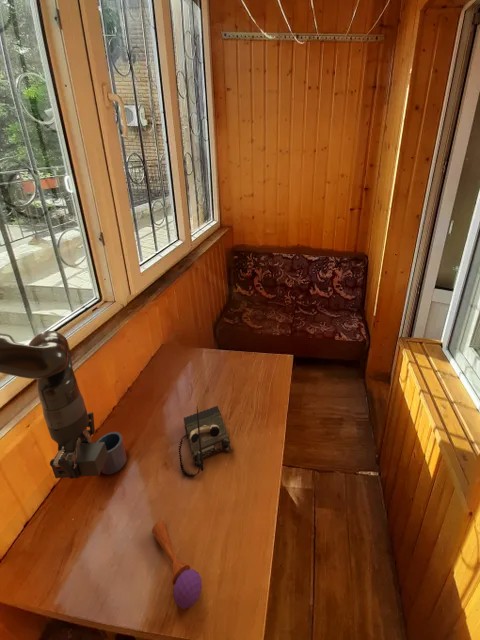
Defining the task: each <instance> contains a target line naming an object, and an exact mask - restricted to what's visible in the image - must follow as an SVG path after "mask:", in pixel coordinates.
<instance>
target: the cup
mask: <svg viewBox="0 0 480 640" xmlns="http://www.w3.org/2000/svg"><path fill="white" fill-rule="evenodd" d="M97 442H105V445H106V449H107V453H108V458H107V460H106V462H105V464H104V466H103V468H102V470H101V472H100V473H102V474H103V475H113V474H115V473H117V472H118V471H120V470H122V468H123V467H124V466H125V465H126V463H127V458H128V457H127V451H126V448H125V444H124V439H123V435H122V434H121V432H118V431H111V432H108V433H105V434H104V435H102V436H100V438H99V439H97V441H96V442H95V443H97Z"/></svg>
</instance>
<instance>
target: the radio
mask: <svg viewBox="0 0 480 640" xmlns="http://www.w3.org/2000/svg"><path fill="white" fill-rule="evenodd" d="M183 425H184V430H185V435H184V436H182V437H181V438H180V441H179V443H178V459H179V465H180V466H179V467H180V468H181V473H183V475H184V476H186V477H190V478H191V477H192V478H193V477H196V476H197V475H198V474H199V473H200V470H201V472H203V471H204V464H203V463H204V462H203V461H204V459H206V458H209V457H211V456H212V455H215V454H218V453H220V452H222V451H225V452H228V453H229V452H231V451H232V448H231V439H230V435H229V433H228V430H227V428H226V426H225V423H224V419H223V418H222V414H221V411H220V409H219V405H216V406H215V405H214V406H213V407H210V408H206V409H204V410H202V411H199V408H198V405H197V406H196V413H193V414H191V415H188V416H184V417H183ZM186 437H187V439H188V444H189V448H190V452H191V456H192V462H193V463H194V467H197V468H198V471H197V472H196V473H195V474H193V473H189V472H187V471H186V469H185V466H184V464H183V455H182V445H183V442H184V440H183V439H185V438H186Z"/></svg>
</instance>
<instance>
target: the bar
mask: <svg viewBox="0 0 480 640" xmlns="http://www.w3.org/2000/svg"><path fill="white" fill-rule="evenodd" d="M96 442H97V441H96ZM96 442H91V443H81V444H80V455H79V456H78V457H77V463H78V466H79V469H80V472H81V475H80V477H79V478H81V477H93V476H94V477H96V476H97V477H98V476H100V474H101V473H102V472H101V470H102V468H103V466H104V464H105V462H106V460H107V458H108V453H107V449H106V445H105V442H97V443H96ZM58 453H59V452H57V453H56V455H55V456H54V458H53V459H56V457H57V455H58ZM73 453H74V452H73ZM68 454H71V453H68ZM69 463H72V460H69ZM51 469H52V472H53V475H54V478H55V479H66V478H67V479H69V476H68V474H66V475H58V474H57V473H56V472H55V470H54V469H53V468H52V467H51Z"/></svg>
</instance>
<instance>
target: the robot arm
mask: <svg viewBox="0 0 480 640" xmlns="http://www.w3.org/2000/svg"><path fill="white" fill-rule="evenodd" d="M0 374H4V375H8V376H14V377H18V378H23V379H28V380H29V379H30V380H36V381H37V382H36V390H37V391H36V392H37V396H38V400H39V402H40V405H41V408H42V415H43V419H44V421H45V424H46V427H47V430H48V433H49V436H50V439H51V440H52V441H54V442H55V443H56V444H57V451H58V452H59V453H58V452H57V453H58V455H57V454H56V455H57V457H56V459H54V458H51V459H50V461H49V466H50V467H51V469H52V468H53V469H54V470H55V472H56V473H57V474H58V475H66V474H68V476H69V477H68V479H69V480H74V479H79V478H81V477H80V475H81V472H80V469H79V466H78V463H77V457H78V456H79V455H80V444H81V443H92V440H93V438H92V436H93V435H95V434H96V433H95V432H96V428H95V427H96V426H95V417H94V416H95V415H94V412H93V411H91V412H88V409H87V406H86V403H85V400H84V396H83V395H82V392H81V390H80V387H79V384H78V380H77V377H76V374H75V372H74V368H73V361H72V354H71V349H70V344H69V341H68V339H67V338H66V336H64V334H62V333H61V332H59V331H55V330H47V331H42V332H40V333H38V334H37V335H35V336H34V337H33V338H32V339H31V340H30V342H29V344H22V343H17V342H16V341H15V340H14V337H13V336H12V335H10V334H7V333H2V332H1V333H0ZM88 428H89V429H88ZM73 452H74V453H73ZM68 453H71V454H68ZM69 460H72V463H69Z"/></svg>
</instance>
